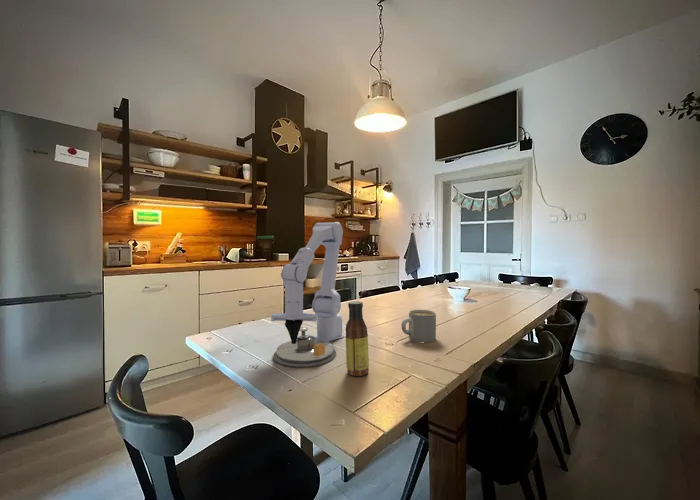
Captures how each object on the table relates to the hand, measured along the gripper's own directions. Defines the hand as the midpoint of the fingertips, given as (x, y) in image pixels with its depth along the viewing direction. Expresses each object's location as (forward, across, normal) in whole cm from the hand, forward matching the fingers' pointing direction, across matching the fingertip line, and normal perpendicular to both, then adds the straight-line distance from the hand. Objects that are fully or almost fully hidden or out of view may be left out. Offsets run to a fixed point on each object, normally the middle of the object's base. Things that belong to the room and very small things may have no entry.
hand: (294, 342), depth 100 cm
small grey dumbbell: (+4, +1, +12) cm, 13 cm away
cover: (+2, +4, 0) cm, 4 cm away
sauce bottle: (+4, +20, -13) cm, 24 cm away
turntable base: (+4, +4, 0) cm, 5 cm away
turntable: (+4, +4, 0) cm, 5 cm away
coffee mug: (+4, +43, +18) cm, 47 cm away
